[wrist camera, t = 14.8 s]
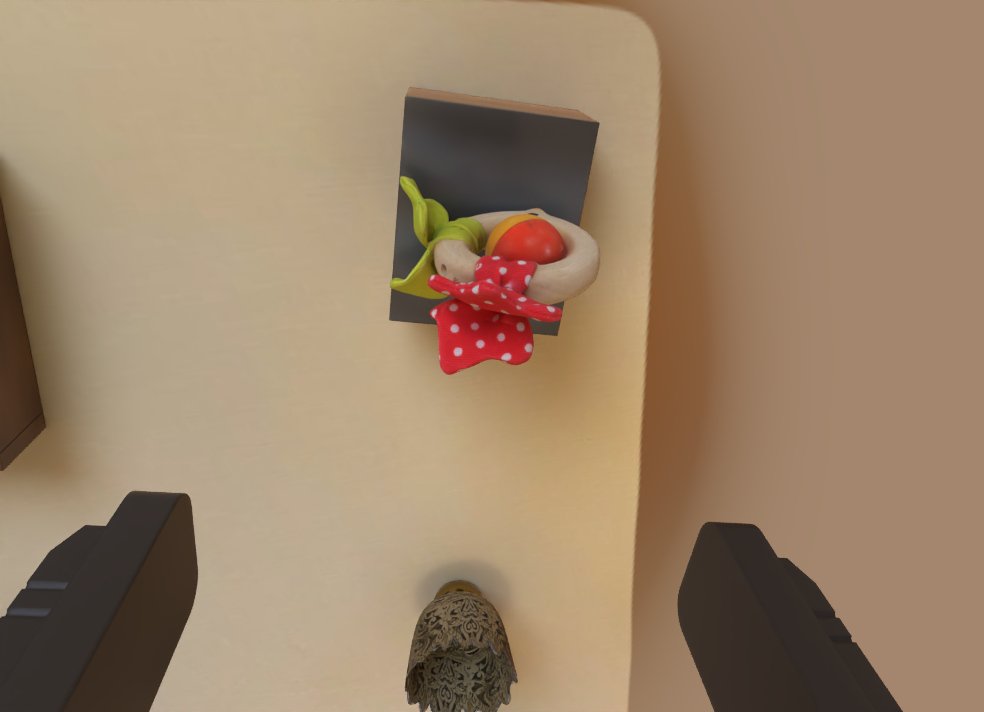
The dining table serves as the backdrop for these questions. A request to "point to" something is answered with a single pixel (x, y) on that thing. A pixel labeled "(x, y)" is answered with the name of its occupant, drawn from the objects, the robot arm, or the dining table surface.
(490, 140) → the block
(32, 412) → the crate
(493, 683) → the cup
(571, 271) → the teething ring toy
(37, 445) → the dining table surface
